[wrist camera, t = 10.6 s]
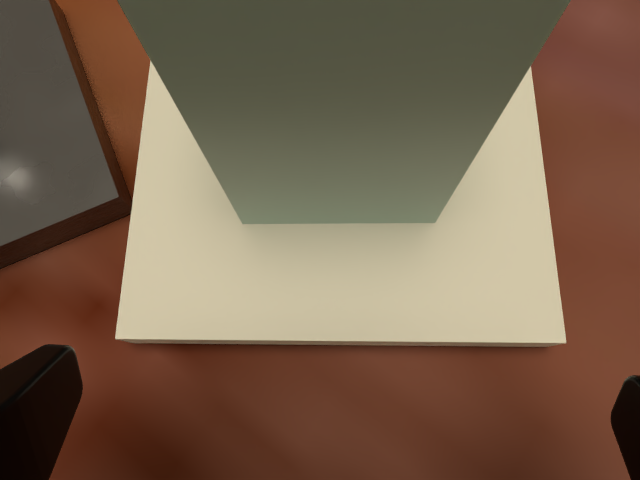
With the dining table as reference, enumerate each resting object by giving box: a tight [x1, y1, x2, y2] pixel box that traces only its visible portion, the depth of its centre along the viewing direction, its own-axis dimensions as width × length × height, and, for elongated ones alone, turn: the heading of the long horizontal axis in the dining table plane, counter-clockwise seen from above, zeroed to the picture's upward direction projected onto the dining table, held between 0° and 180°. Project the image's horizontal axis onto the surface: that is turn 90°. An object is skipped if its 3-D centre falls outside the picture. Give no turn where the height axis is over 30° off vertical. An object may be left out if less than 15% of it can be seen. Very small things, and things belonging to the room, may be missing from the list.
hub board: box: [115, 62, 566, 347], centre depth 16 cm, size 14×14×5 cm
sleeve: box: [117, 0, 571, 224], centre depth 13 cm, size 6×6×10 cm
